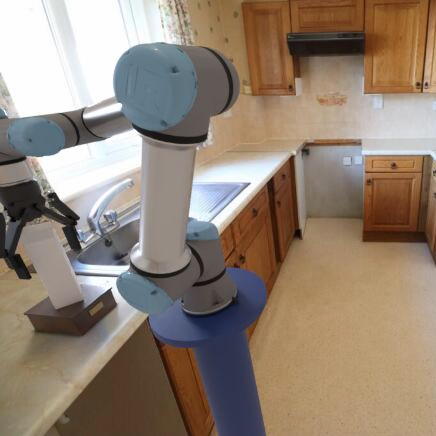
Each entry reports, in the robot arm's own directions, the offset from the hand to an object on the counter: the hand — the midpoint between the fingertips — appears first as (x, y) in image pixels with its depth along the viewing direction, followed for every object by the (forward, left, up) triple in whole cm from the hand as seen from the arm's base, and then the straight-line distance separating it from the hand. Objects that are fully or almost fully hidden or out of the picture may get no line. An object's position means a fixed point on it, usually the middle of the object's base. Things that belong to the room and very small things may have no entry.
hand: (53, 262), depth 80 cm
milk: (0, 0, -12) cm, 12 cm away
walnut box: (0, 0, -18) cm, 18 cm away
